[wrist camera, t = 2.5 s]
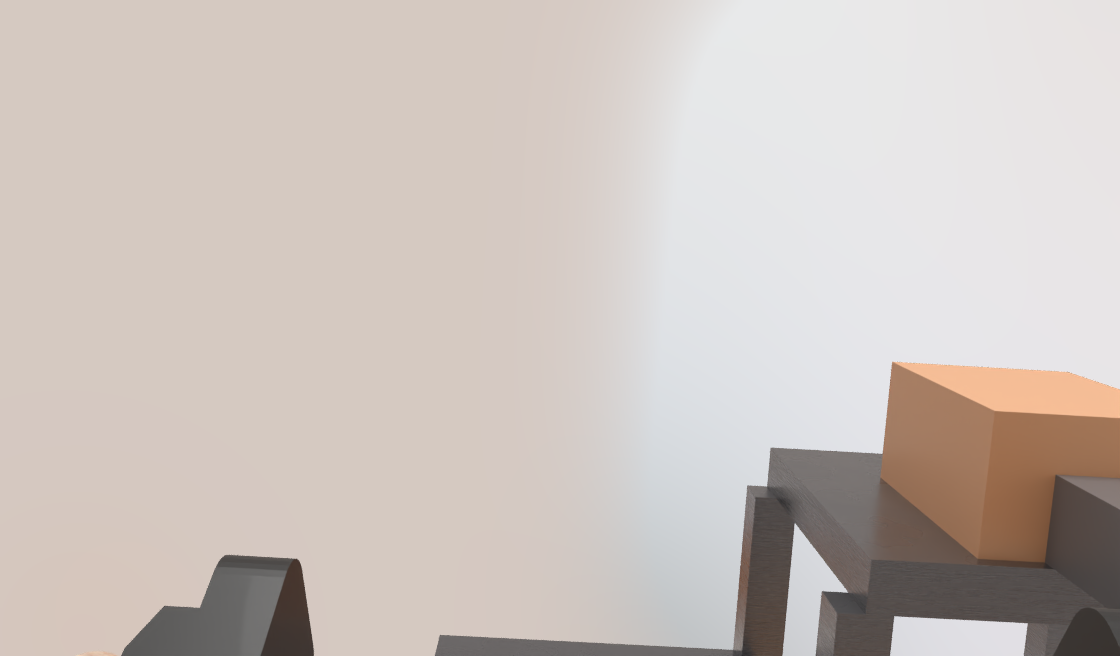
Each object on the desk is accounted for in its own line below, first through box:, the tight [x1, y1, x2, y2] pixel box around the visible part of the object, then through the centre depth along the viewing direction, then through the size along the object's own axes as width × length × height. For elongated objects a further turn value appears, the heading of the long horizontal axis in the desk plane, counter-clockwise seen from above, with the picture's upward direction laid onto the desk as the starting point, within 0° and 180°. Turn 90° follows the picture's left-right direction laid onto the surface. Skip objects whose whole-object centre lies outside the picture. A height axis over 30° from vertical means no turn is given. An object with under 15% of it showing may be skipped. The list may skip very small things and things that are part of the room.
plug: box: [880, 362, 1120, 609], centre depth 27 cm, size 17×6×4 cm, turn 1°
